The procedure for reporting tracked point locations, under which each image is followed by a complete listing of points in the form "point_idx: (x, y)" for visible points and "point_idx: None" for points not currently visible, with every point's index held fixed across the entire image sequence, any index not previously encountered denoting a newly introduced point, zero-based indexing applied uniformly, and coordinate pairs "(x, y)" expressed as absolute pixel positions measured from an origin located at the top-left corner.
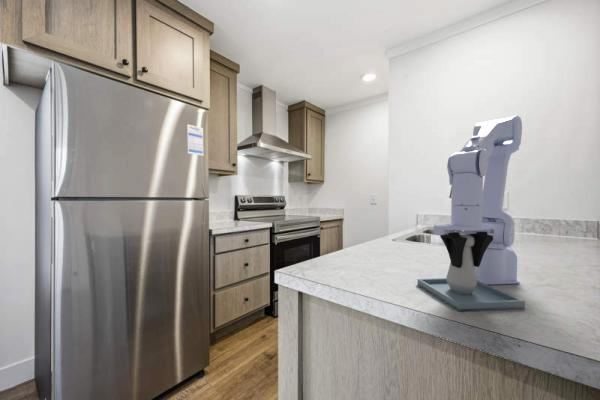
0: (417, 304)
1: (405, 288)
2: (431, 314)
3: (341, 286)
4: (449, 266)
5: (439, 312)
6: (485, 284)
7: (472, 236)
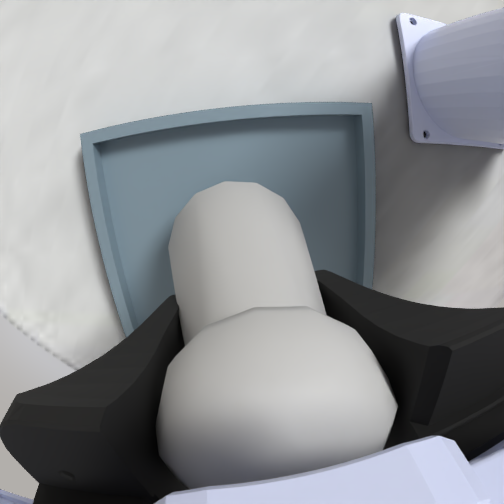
0: (45, 315)
1: (34, 181)
2: (69, 366)
3: None
4: (180, 247)
5: (90, 360)
6: (372, 203)
7: (403, 432)
